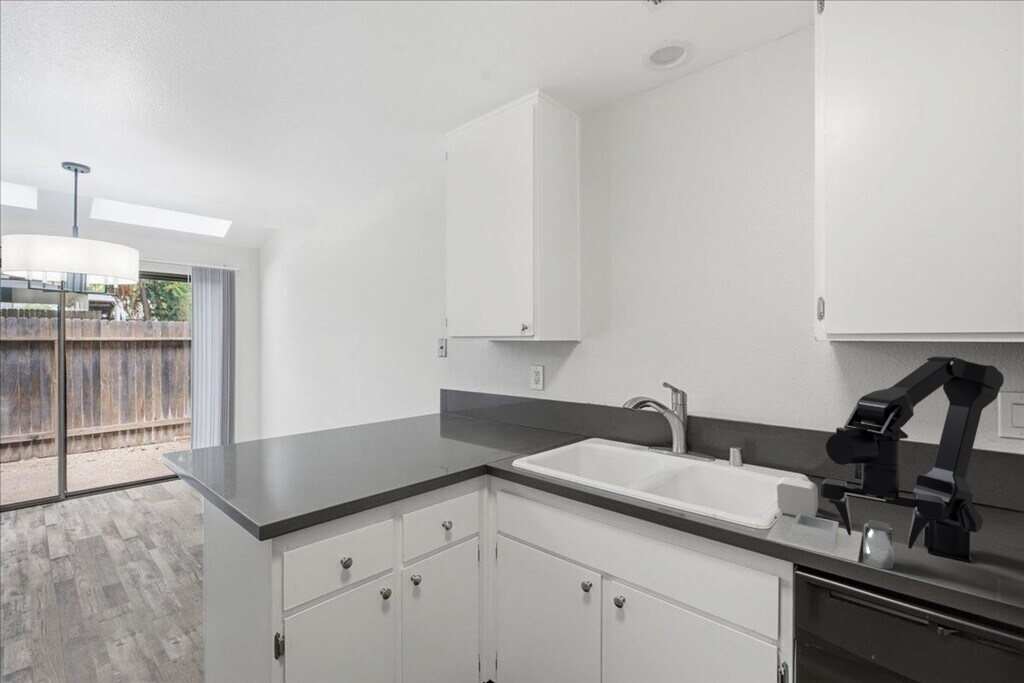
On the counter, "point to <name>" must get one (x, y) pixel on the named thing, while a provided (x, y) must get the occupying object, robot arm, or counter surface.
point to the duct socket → (817, 536)
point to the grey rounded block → (797, 496)
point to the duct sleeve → (878, 544)
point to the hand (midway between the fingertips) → (878, 541)
